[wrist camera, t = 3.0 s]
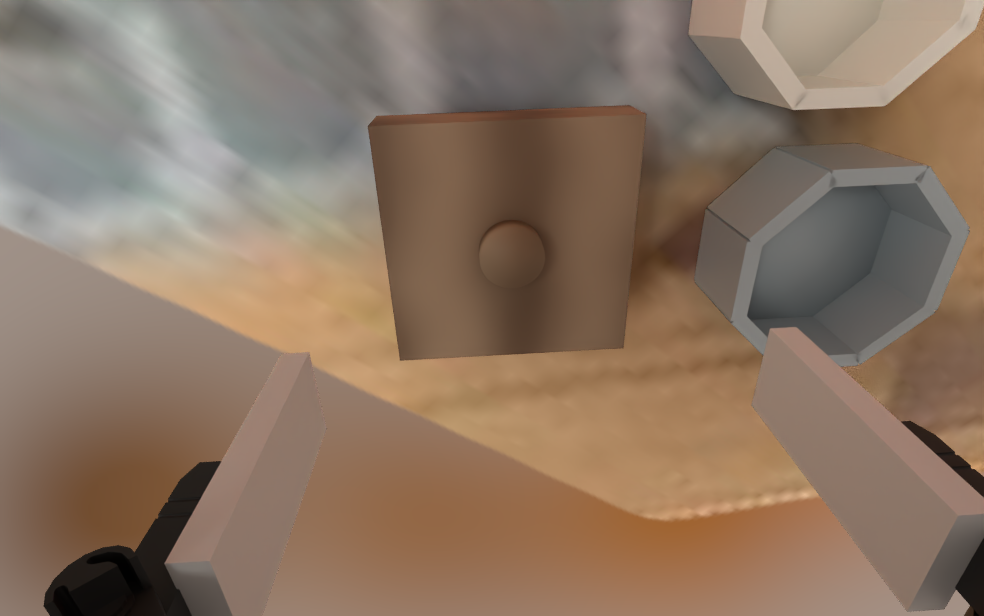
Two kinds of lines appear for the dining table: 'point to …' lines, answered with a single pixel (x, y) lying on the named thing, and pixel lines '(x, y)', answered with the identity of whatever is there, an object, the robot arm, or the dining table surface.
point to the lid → (508, 228)
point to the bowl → (827, 46)
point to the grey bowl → (830, 248)
